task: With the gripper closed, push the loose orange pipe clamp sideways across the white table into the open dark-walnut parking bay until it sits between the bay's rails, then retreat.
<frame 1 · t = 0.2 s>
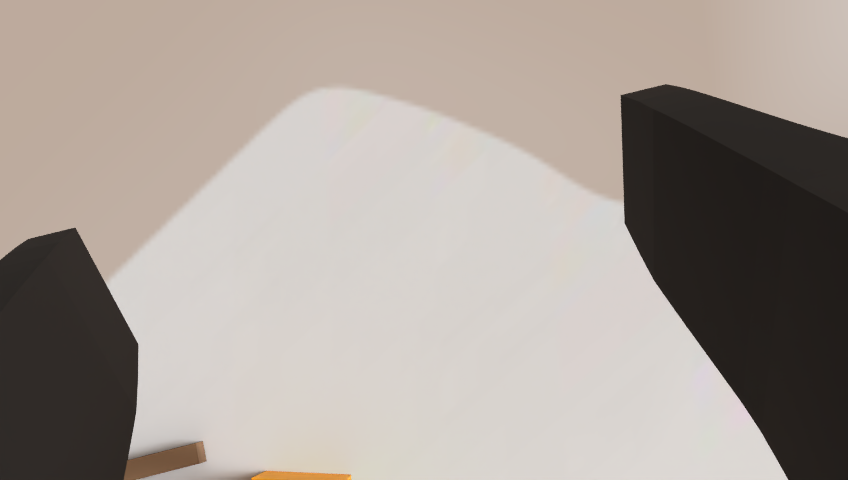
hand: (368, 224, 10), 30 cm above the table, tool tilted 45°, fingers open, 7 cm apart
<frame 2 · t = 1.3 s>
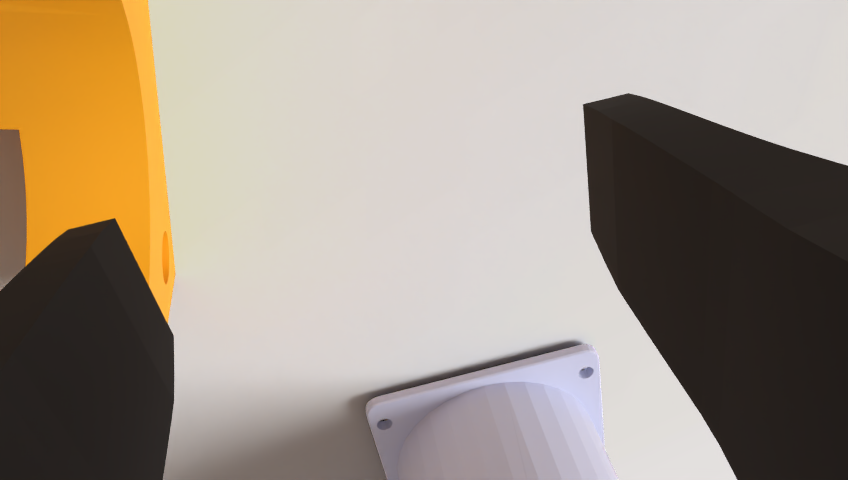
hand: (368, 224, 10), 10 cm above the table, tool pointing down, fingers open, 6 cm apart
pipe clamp: (61, 64, 19), on the table
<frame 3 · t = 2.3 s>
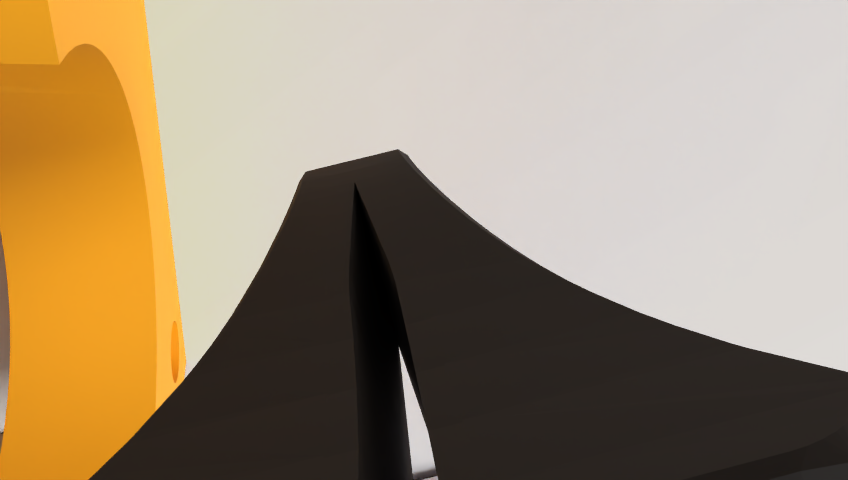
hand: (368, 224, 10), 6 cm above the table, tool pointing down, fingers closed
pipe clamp: (51, 134, 16), on the table
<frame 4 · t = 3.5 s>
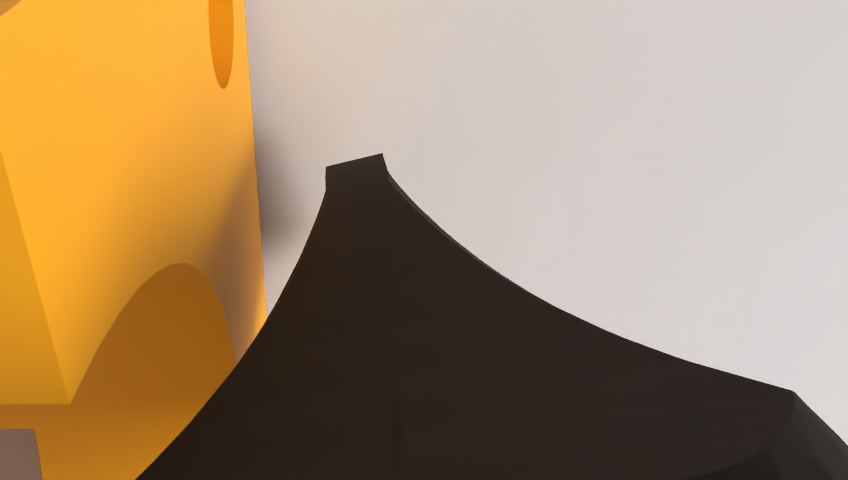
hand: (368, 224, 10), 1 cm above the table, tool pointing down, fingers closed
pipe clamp: (120, 275, 12), on the table, touching gripper
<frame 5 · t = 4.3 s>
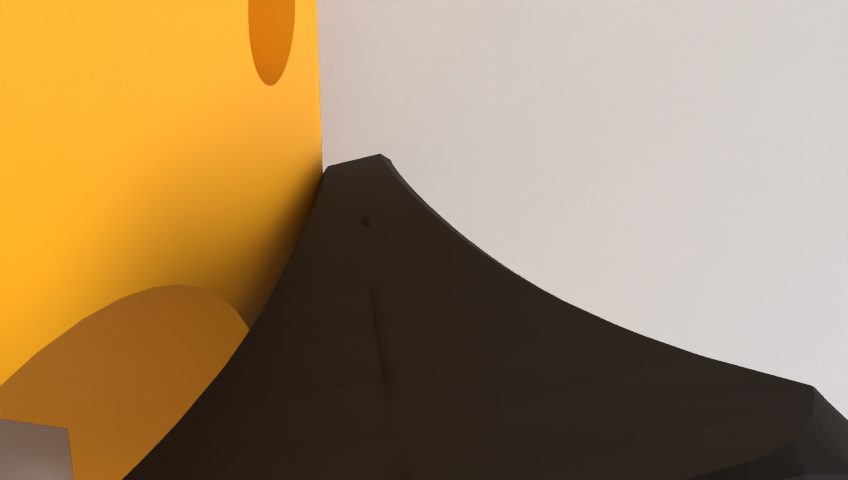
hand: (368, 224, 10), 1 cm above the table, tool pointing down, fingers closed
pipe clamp: (183, 273, 11), on the table, touching gripper
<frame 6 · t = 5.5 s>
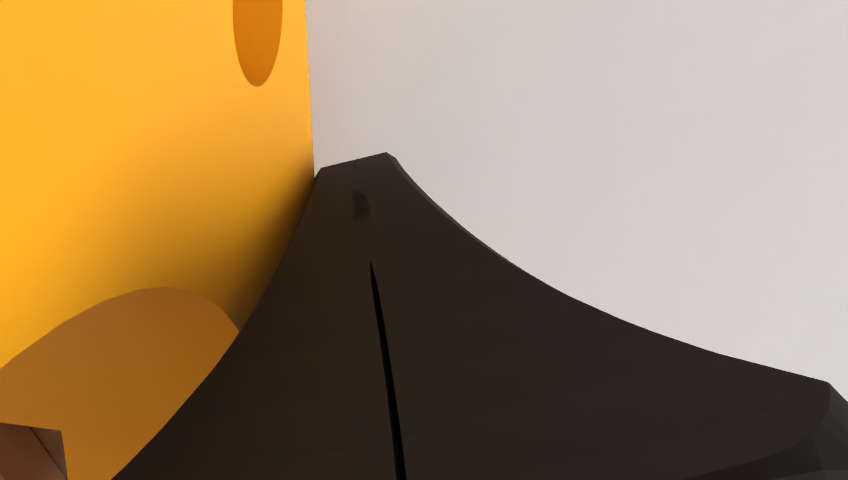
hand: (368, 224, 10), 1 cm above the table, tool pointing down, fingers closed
bay: (135, 236, 11), on the table
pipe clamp: (176, 274, 11), on the table, touching gripper
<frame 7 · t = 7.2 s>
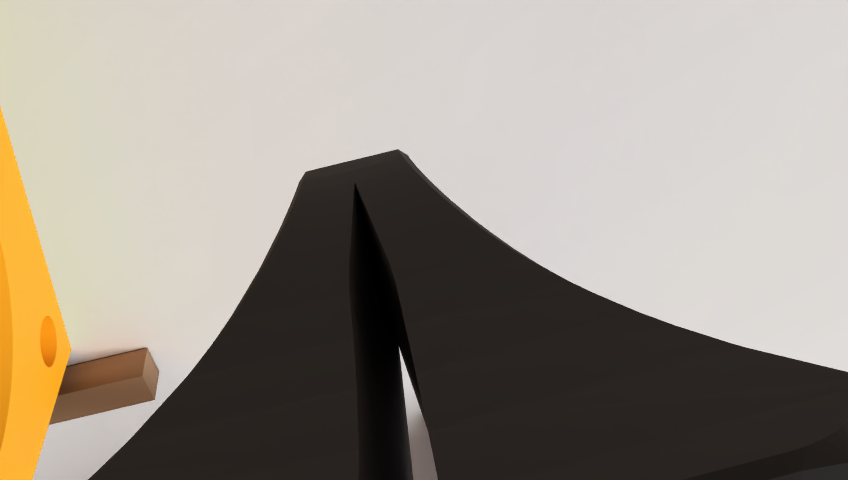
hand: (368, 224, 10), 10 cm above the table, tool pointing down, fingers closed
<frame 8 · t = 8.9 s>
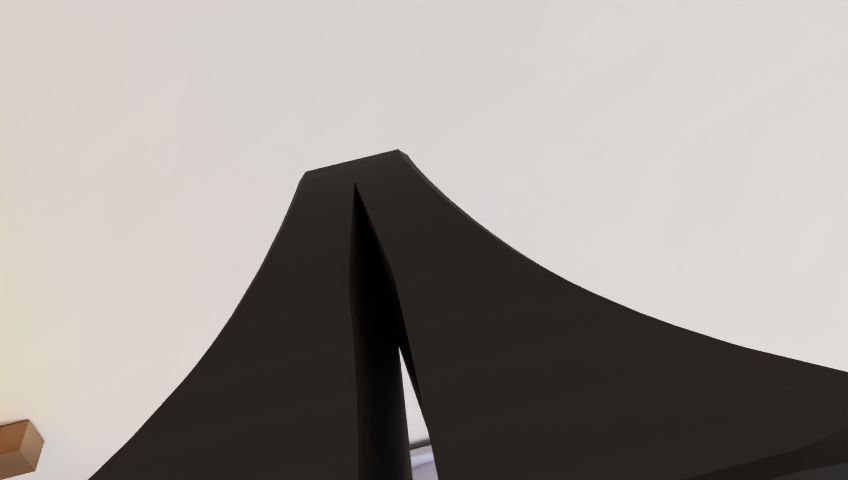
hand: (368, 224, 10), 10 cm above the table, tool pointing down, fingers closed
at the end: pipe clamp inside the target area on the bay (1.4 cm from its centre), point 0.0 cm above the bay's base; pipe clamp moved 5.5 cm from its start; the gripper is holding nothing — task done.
